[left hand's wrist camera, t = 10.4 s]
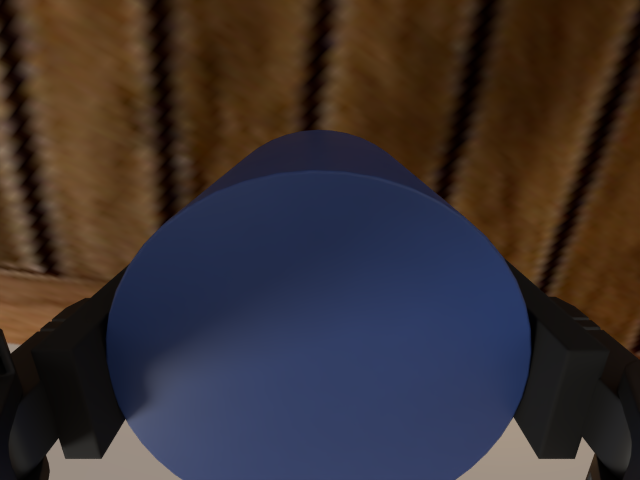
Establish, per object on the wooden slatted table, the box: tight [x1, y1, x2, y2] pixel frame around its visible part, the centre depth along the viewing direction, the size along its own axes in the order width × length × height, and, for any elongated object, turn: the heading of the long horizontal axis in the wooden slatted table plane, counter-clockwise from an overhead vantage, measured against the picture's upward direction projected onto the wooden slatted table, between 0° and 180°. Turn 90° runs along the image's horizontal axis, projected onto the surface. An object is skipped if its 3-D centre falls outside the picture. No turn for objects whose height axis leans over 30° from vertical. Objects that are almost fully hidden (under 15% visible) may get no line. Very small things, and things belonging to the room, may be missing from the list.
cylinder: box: [106, 130, 532, 480], centre depth 12 cm, size 9×9×9 cm
